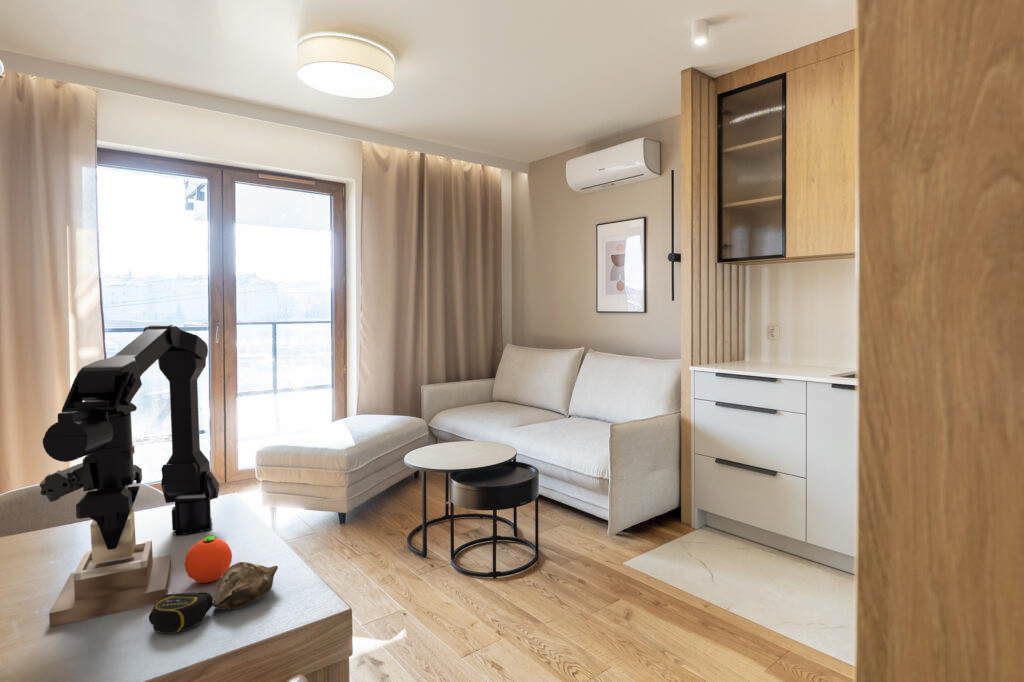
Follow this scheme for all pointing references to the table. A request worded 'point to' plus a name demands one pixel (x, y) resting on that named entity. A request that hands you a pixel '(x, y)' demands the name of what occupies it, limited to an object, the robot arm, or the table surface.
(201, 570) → the clementine
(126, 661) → the table surface
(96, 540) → the maple block
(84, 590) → the tower base
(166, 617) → the tape measure
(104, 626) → the table surface
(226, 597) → the fossilized seashell
